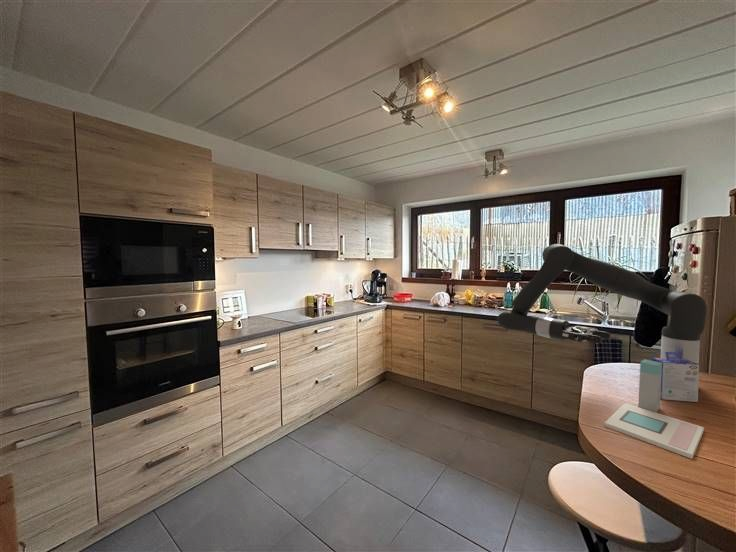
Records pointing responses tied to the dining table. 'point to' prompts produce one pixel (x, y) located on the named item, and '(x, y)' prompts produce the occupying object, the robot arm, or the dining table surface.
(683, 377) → the ink cartridge box
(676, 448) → the picture board
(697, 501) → the dining table surface
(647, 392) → the teal-capped square post
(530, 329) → the robot arm
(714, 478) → the dining table surface
